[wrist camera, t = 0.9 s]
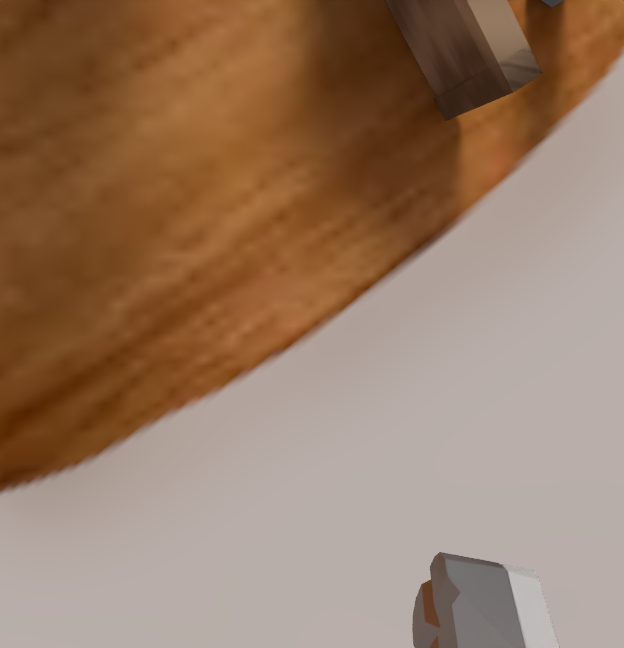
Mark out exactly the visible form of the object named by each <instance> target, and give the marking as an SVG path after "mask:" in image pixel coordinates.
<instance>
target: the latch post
mask: <svg viewBox="0 0 624 648" xmlns="http://www.w3.org/2000/svg"><path fill="white" fill-rule="evenodd" d="M541 1H543V2H544V3H546V4H547V5H549V6H550V7H554V6H555V5H557V4H559V3H560V2H562V1H563V0H541Z"/></svg>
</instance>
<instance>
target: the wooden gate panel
mask: <svg viewBox="0 0 624 648" xmlns="http://www.w3.org/2000/svg"><path fill="white" fill-rule="evenodd" d="M384 1H385V2H386V4H387V6H388V8H389V10H390V12H391V14H392V16H393V17H394V19H395V21H396V23H397V25H398V27H399V29H400V30H401V32H402V34H403V36H404V38H405V40H406V42H407V44H408V45H409V47H410V49H411V51H412V53H413V55H414V57H415V59H416V60H417V62H418V64H419V66H420V68H421V70H422V72H423V74H424V75H425V77H426V79H427V81H428V83H429V85H430V87H431V89H432V90H433V92H434V94H435V96H436V99H434V100H435V102H436V104H437V105H438V107H439V109H440V111H441V113H442V115H443V117H444V118H445V120H449V119H451V118H453V117H456V116H458V115H460V114H463V113H465V112H468V111H470V110H472V109H475V108H477V107H480V106H482V105H484V104H487V103H489V102H492V101H494V100H496V99H499V98H501V97H503V96H506V95H508V94H511V93H513V92H515V91H516V90H518V89H519V88H521V87H522V86H524V85H525V84H527V83H528V82H530V81H531V80H533V79H535V78H536V77H538V76H539V75H541V74H542V71H541V69H540V67H539V65H538V63H537V61H536V59H535V57H534V55H533V53H532V51H531V48H530V46H529V44H528V42H527V40H526V38H525V36H524V34H523V32H522V30H521V28H520V26H519V24H518V22H517V20H516V17H515V15H514V13H513V11H512V9H511V7H510V5H509V3H508V1H507V0H384Z"/></svg>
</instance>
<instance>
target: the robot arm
mask: <svg viewBox="0 0 624 648" xmlns="http://www.w3.org/2000/svg"><path fill="white" fill-rule="evenodd" d="M430 571H431V580H429V581H427V582H425V583H423V584H422V585H421V587H420V590H419V592H418V595H417V597H416V601H415V607H414V612H413V644H414V647H415V648H560V647H559V643H558V640H557V637H556V634H555V630H554V627H553V624H552V621H551V617H550V614H549V611H548V608H547V604H546V601H545V598H544V594H543V591H542V588H541V584H540V581H539V578H538V576H537V575H536V574H535V572H534V571H533V570H528V569H524V568H518V567H513V566H508V565H503V564H499V563H495V562H490V561H485V560H479V559H474V558H469V557H463V556H458V555H452V554H447V553H441V552H440V553H438V554H437V555H436V556H435V557H434V559H433V562H432V563H431V566H430Z"/></svg>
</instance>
